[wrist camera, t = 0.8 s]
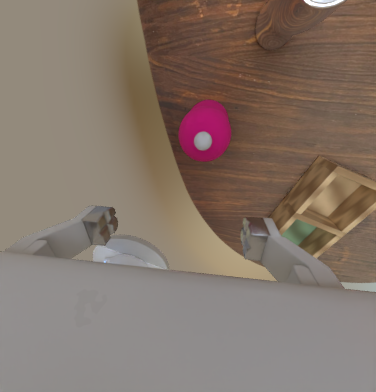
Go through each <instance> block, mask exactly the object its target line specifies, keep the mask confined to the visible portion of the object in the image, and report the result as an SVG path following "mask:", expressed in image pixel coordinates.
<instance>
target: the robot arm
mask: <svg viewBox="0 0 376 392" xmlns="http://www.w3.org/2000/svg"><path fill="white" fill-rule="evenodd" d="M115 213H116V212H115V209H114V208H112V207H103V206H88V207H87V208H86V209H85V210H83V211H82V212H81V213H80V214H79V215H77V216H76V217H75V218H74V219H72V220H68V221H65V222H63V223H60V224H57V225H55V226H52V227H49V228H47V229H44V230H41V231H39V232H36V233H33V234H31V235H28V236H26V237H23V238H22V239H20V240H19V241H18V242H16V243H15V244H13V245H12V246H10V247H9V248H8V249H6V250H5V251H3V252H2V251H0V392H376V292H369V291H360V290H351V289H345V288H344V287H343V286H342V284H341V283H340V281H339V280H338V279H337V277H336V276H335V274H334V273H333V271H332V270H331V269H330V267H328V266H327V265H325V264H324V263H322V262H321V261H319V260H318V259H316V258H315V257H313V256H312V255H310V254H309V253H307V252H306V251H304V250H303V249H301V248H300V247H299V246H297V245H296V244H294V243H293V242H291V241H290V240H288V239H287V238H285V237H282V236H281V234H280V232H279V231H278V229H277V227H276V225H275V223H274V221H273V219H272V218H254V217H244V219H243V226H244V227H243V228H242V229H241V244H242V245H243V253H244V258H245V259H248V260H256V261H260V262H261V263H262V264H263V265H264V266H265V267H266V269H267V270H268V271H269V272H270V273H271V274H272V275H273V276H274V278H275V279H276V280H277V281H278V282H277V281H267V280H258V279H249V278H240V277H231V276H222V275H213V274H204V273H195V272H185V271H176V270H167V269H158V268H149V267H148V265H147V264H146V263H145V262H144V261H143V260H141V259H140V258H138V257H136V256H133V255H130V254H118V255H115V256H113V257H106V258H105V259H104V261H103V262H104V263H103V262H94V261H84V260H74V259H71V258H73V257H74V256H76V255H78V254H79V253H81V252H82V251H83V250H85V249H87V248H88V247H90V246H91V245H106V243H107V242H108V241H109V239H110V238H111V237H110V235H111V234H113V233H115V231H116V230H117V227H118V221H117V218H116V217H115V216H114V215H115Z"/></svg>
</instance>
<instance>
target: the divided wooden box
mask: <svg viewBox="0 0 376 392" xmlns="http://www.w3.org/2000/svg"><path fill="white" fill-rule="evenodd" d="M375 209H376V181H375V180H373V179H370V178H368V177H366V176H364V175H362V174H359V173H357V172H355V171H353V170H350V169H348V168H346V167H343V166H341V165H339V164H337V163H334V162H332V161H330V160H328V159H325V158H323V157H321V156H318V158H317V159H316V160H315V161H314V162H313V164H312V165H311V166H310V167H309V169H308V170H307V171H306V172H305V174H304V175H303V176H302V177H301V178H300V180H299V181H298V182H297V183H296V185H295V186H294V187H293V188H292V189H291V191H290V192H289V193H288V194H287V196H286V197H285V198H284V199H283V201H282V202H281V203H280V204H279V205H278V207H277V208H276V209H275V210H274V212H273V213H272V214H271V215H270V216H269V218H272V219H273V221H274V223H275V225H276V227H277V229H278V231H279V232H280V234H281V236H282V237H285V238H287V239H288V240H290V241H291V242H293V243H294V244H296V245H297V246H299V247H300V248H301V249H303V250H304V251H306V252H307V253H309V254H310V255H312V256H313V257H315V258H317V257H318V256H320V255H321V254H322V253H323V252H324V251H326V250H327V249H328V248H329V247H330V246H332V245H333V244H334V243H335V242H337V241H338V240H339V239H340V238H341V237H343V236H344V235H345V234H346V233H347V232H349V231H350V230H351V229H352V228H354V227H355V226H356V225H357V224H358V223H360V222H361V221H362V220H363V219H364V218H366V217H367V216H368V215H369V214H370V213H372V212H373V211H374V210H375Z"/></svg>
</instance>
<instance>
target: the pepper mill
mask: <svg viewBox="0 0 376 392" xmlns="http://www.w3.org/2000/svg"><path fill="white" fill-rule="evenodd" d="M230 139H231V127H230V123H229V119H228V114H227V112H226V110H225V108H224V107H223V106H222V105H221V104H220V103H218V102H217V101H214V100H204V101H201V102H199V103H197V104H196V105H195V106H194V107H193V108H192V109H191V111H190V112H189V113H188V114H187V115H186V116H185V117H184V119H183V120H182V122H181V125H180V128H179V141H180V145H181V147H182V149H183V151H184V152H185V153H186V154H187V155H188V156H189V157H191V158H192V159H194V160H197V161H203V162H206V161H212V160H214V159H216V158H218V157H219V156H221V155H222V154H223V153H224V152H225V150H226V149H227V147H228V145H229V143H230Z"/></svg>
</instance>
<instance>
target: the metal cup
mask: <svg viewBox="0 0 376 392" xmlns="http://www.w3.org/2000/svg"><path fill="white" fill-rule="evenodd" d="M346 1H347V0H268V1H267V2H266V3H265V5H264V6H263V7H262V9H261V11H260V12H259V15H258V17H257V21H256V26H255V34H256V38H257V41H258V43H259V44H260V45H261V46H262V47H263V48H265V49H267V50H275V49H278V48H281V47H282V46H284V45H285V44H286V43H287V42H288V41H289V40H290V39H291V38H292V36H294V35H297V34H300V33H302V32H305V31H307V30H309V29H311V28H313V27H314V26H316V25H317V24H319V23H320V22H322V21H323V20H325V19H326V18H327V17H328V16H330V15H331V14H332V13H333V12H335V11H336V10H337V9H338V8H339V7H340V6H341V5H342V4H344V3H345V2H346Z"/></svg>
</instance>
